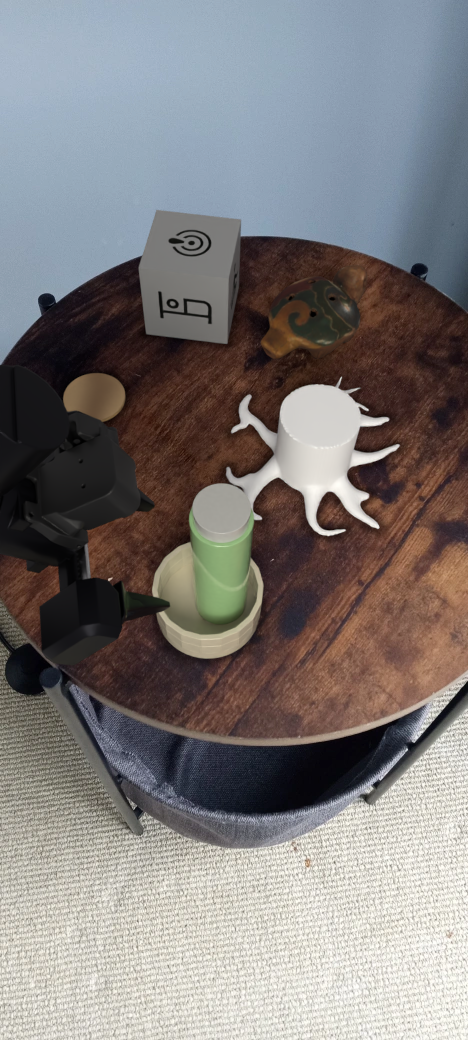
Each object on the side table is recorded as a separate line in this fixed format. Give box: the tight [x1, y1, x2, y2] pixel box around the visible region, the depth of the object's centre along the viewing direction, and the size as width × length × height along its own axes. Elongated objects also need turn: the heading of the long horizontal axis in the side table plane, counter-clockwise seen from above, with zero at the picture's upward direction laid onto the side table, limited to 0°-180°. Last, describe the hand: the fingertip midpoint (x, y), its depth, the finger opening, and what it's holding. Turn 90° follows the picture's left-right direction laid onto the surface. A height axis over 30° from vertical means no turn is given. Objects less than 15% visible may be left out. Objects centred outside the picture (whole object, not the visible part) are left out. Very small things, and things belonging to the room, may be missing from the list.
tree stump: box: [225, 376, 401, 537], centre depth 75 cm, size 20×19×8 cm
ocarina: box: [260, 264, 368, 360], centre depth 85 cm, size 10×15×8 cm, turn 135°
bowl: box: [151, 541, 264, 659], centre depth 67 cm, size 10×10×5 cm
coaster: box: [62, 372, 127, 423], centre depth 82 cm, size 7×7×1 cm
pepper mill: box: [188, 482, 255, 624], centre depth 61 cm, size 5×5×17 cm
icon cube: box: [138, 209, 242, 345], centre depth 86 cm, size 10×10×10 cm
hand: (158, 555), depth 58 cm, fingers open, 9 cm apart
